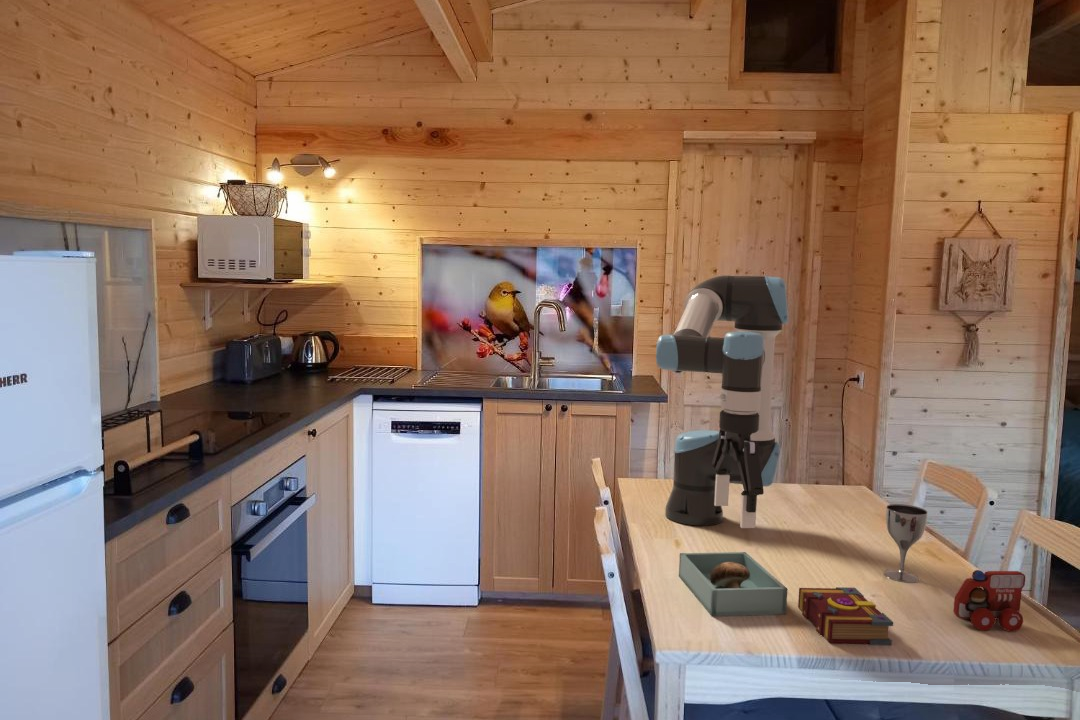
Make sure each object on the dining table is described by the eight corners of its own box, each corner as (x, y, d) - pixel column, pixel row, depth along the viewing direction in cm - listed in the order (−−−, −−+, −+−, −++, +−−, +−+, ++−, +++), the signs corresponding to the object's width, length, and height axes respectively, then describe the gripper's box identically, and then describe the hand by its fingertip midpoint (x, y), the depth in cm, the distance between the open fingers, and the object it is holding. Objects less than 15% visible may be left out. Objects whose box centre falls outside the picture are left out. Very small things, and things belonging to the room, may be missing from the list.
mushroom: (753, 586, 144) (742, 554, 147) (713, 597, 146) (703, 565, 149) (757, 592, 151) (747, 561, 154) (719, 602, 153) (709, 572, 156)
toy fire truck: (943, 614, 144) (947, 562, 143) (1006, 616, 144) (1011, 563, 143) (964, 631, 137) (968, 576, 136) (1030, 632, 137) (1036, 577, 136)
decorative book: (827, 645, 130) (829, 618, 129) (793, 606, 146) (795, 581, 146) (892, 646, 130) (894, 619, 130) (851, 607, 146) (853, 582, 146)
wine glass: (918, 572, 165) (924, 506, 164) (924, 585, 158) (930, 516, 156) (879, 567, 168) (884, 502, 166) (883, 580, 160) (888, 511, 159)
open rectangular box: (678, 576, 159) (679, 553, 158) (744, 574, 161) (745, 552, 160) (711, 616, 140) (713, 590, 139) (785, 614, 142) (787, 588, 141)
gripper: (699, 400, 158) (694, 497, 161) (747, 423, 134) (740, 538, 136) (733, 400, 159) (728, 497, 162) (786, 423, 135) (779, 537, 137)
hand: (733, 516), depth 149 cm, fingers open, 13 cm apart
